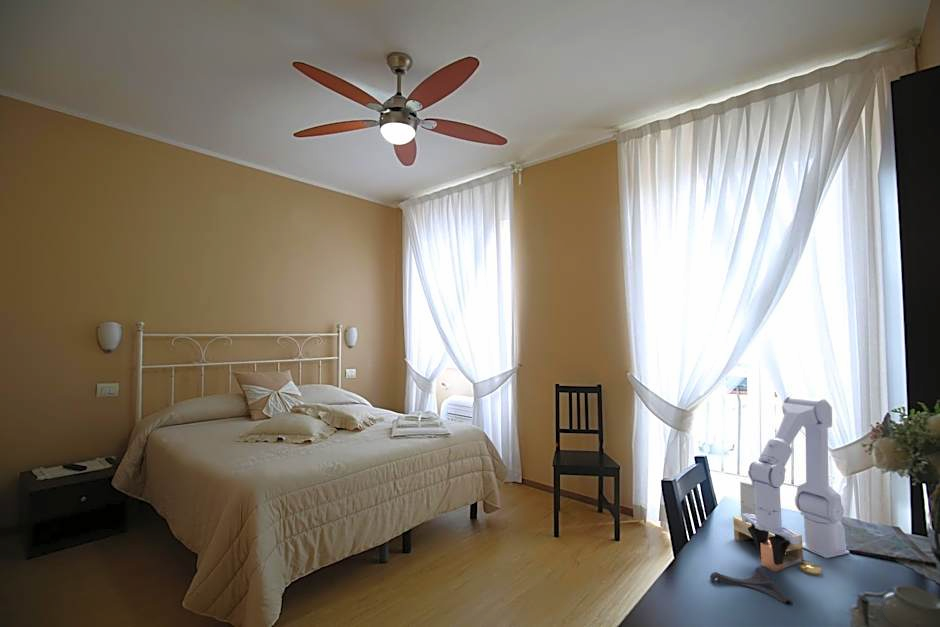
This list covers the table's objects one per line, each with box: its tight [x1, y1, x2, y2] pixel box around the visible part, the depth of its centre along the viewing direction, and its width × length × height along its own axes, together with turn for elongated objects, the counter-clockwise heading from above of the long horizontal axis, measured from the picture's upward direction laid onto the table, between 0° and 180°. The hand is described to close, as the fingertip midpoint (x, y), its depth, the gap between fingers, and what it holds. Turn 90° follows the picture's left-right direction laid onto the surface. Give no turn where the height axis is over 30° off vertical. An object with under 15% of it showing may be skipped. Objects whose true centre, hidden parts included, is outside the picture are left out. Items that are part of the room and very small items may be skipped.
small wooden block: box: [760, 540, 803, 573], centre depth 116 cm, size 11×4×6 cm, turn 112°
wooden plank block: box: [732, 514, 804, 561], centre depth 124 cm, size 8×15×6 cm, turn 17°
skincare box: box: [739, 478, 756, 516], centre depth 144 cm, size 6×4×12 cm
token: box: [799, 560, 822, 576], centre depth 112 cm, size 4×4×2 cm
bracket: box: [709, 566, 794, 606], centre depth 106 cm, size 14×15×3 cm
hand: (770, 559), depth 114 cm, fingers closed on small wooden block, 4 cm apart
